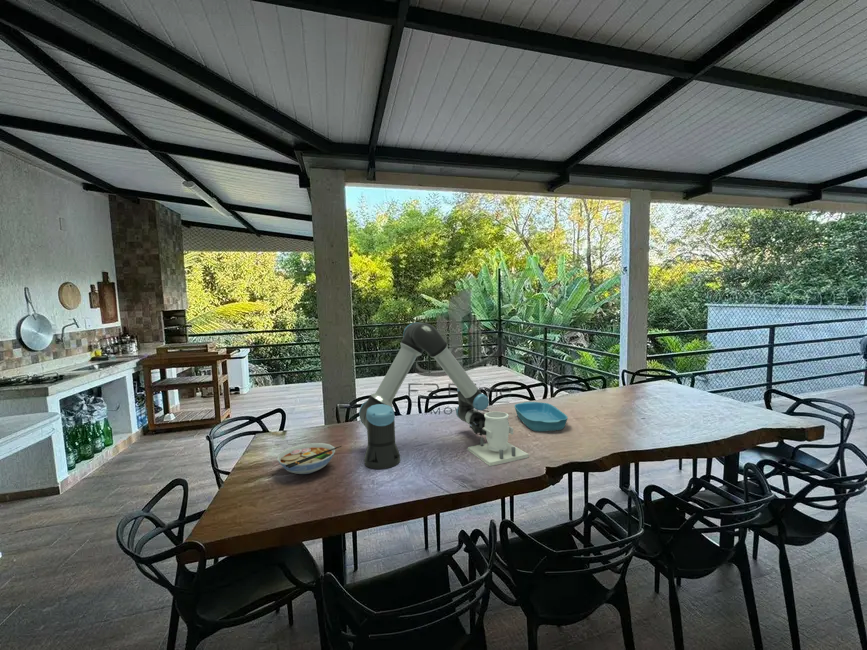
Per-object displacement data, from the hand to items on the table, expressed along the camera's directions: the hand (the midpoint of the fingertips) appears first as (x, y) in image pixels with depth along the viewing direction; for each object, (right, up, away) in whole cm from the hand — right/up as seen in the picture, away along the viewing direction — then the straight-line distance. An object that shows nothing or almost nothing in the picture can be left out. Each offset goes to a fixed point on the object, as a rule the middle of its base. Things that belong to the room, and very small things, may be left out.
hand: (502, 433), depth 164 cm
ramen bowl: (-81, -14, -6) cm, 82 cm away
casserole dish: (+28, -7, +45) cm, 54 cm away
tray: (-1, -10, +5) cm, 11 cm away
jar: (-1, -8, +4) cm, 9 cm away
